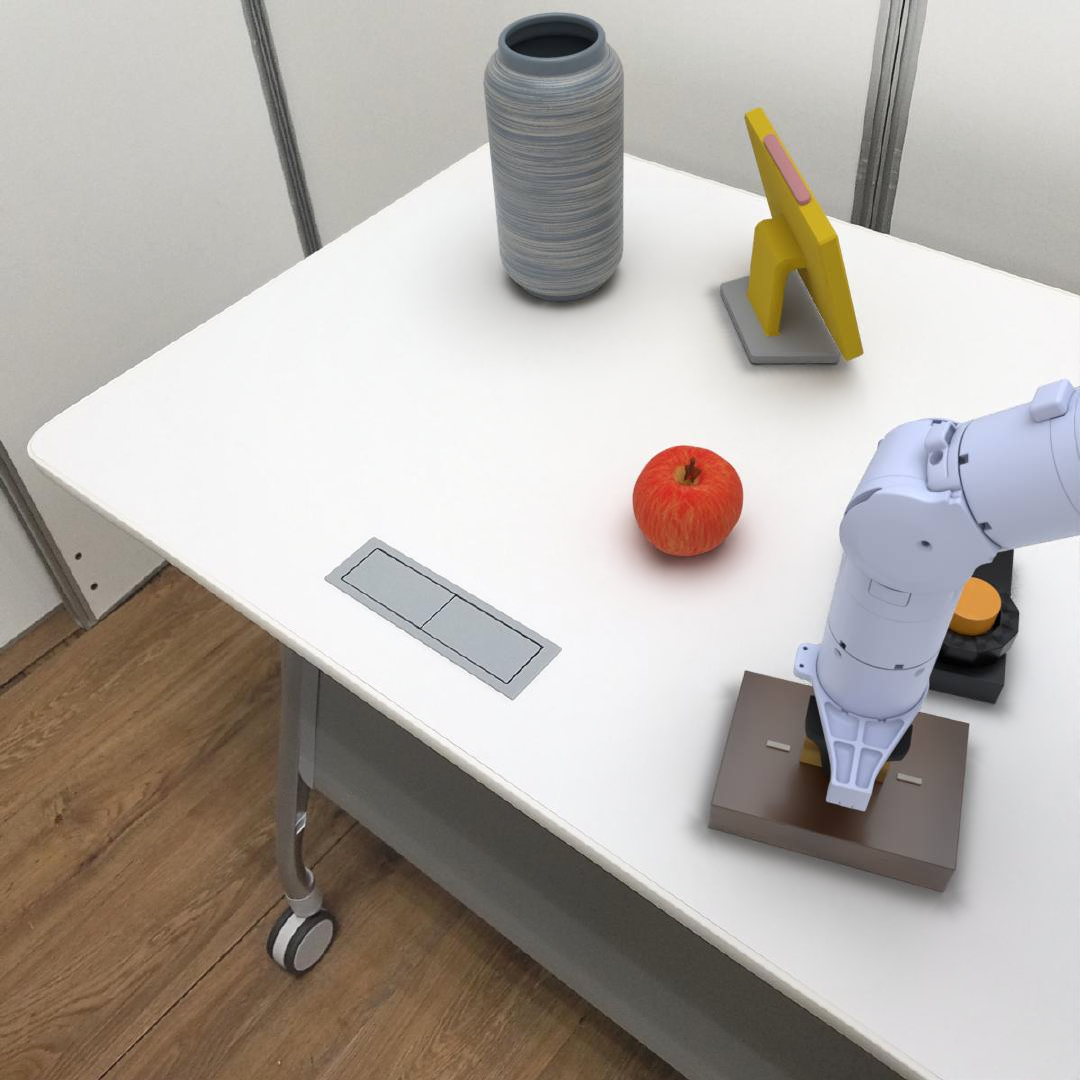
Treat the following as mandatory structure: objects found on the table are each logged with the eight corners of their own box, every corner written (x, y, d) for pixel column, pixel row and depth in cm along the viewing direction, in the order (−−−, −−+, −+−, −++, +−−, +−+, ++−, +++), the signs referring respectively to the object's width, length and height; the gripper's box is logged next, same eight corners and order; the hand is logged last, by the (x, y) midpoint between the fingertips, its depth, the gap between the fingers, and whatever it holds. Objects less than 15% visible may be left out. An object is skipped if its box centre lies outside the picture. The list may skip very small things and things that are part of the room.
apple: (700, 480, 86) (707, 405, 80) (759, 548, 82) (770, 473, 76) (612, 517, 84) (612, 443, 78) (666, 589, 80) (670, 515, 73)
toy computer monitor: (857, 387, 93) (892, 224, 81) (766, 400, 92) (789, 238, 80) (786, 252, 106) (807, 95, 94) (706, 263, 105) (718, 107, 93)
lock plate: (958, 747, 70) (970, 721, 68) (943, 892, 64) (956, 869, 61) (740, 695, 73) (745, 668, 71) (707, 827, 67) (710, 803, 65)
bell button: (996, 599, 73) (1003, 582, 72) (992, 641, 71) (999, 625, 69) (940, 587, 74) (945, 571, 72) (934, 629, 72) (940, 613, 70)
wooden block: (886, 763, 66) (898, 730, 63) (883, 783, 65) (895, 751, 62) (803, 742, 67) (811, 709, 64) (799, 761, 66) (807, 729, 64)
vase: (509, 238, 110) (489, 4, 92) (625, 239, 108) (627, 2, 91) (495, 310, 102) (470, 70, 85) (620, 312, 101) (620, 69, 84)
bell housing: (1009, 569, 79) (1025, 532, 76) (999, 705, 72) (1015, 670, 69) (864, 539, 82) (874, 503, 79) (840, 668, 74) (850, 633, 71)
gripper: (828, 507, 61) (798, 648, 71) (780, 722, 52) (754, 848, 62) (960, 533, 59) (909, 673, 70) (933, 760, 51) (880, 883, 61)
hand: (844, 758), depth 66 cm, fingers closed on wooden block
